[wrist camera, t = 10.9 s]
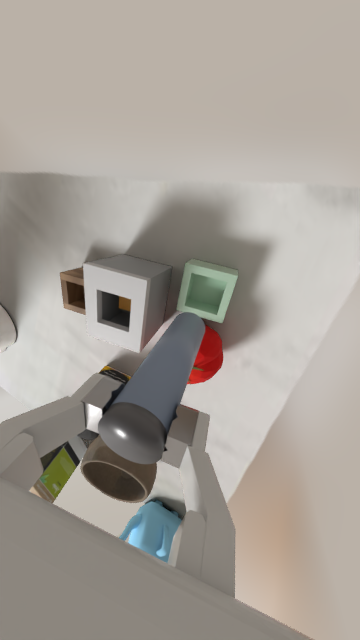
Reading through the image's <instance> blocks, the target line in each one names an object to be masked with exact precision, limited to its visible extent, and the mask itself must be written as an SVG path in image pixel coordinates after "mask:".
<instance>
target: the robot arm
mask: <svg viewBox="0 0 360 640" xmlns="http://www.w3.org/2000/svg"><path fill="white" fill-rule="evenodd" d="M15 340H16V331H15V327H14V324H13V322H12V320H11V318H10V317H9V315H8V314H7V312H6V311H5V310H4V308H3V307H2V306H1V305H0V353H2V352H4V351H5V350H6V347H8V346H11V345H13V344H14V342H15ZM123 388H124V383H121V382H119V381H116V380H114V379H112V378H109V377H107V376H104V375H102V374H99V373H95V374H93V375H92V376H91V377H90V378H89V379H88V380H87V381H86V382H85V383H84V384H83V385H82V386H81V387H80V388H79V389H78V390H77V391H76V392H75V393H74V394H73V395H72V396H71V397H68V396H67V397H64V398H62V399H59V400H56V401H54V402H51V403H49V404H46V405H44V406H41V407H39V408H36V409H33V410H31V411H28V412H26V413H23V414H21V415H18V416H16V417H13V418H11V419H8V420H5V421H3V422H2V423H1V424H0V640H314V639H312V638H310V637H308V636H306V635H304V634H302V633H300V632H299V631H297V630H295V629H293V628H290V627H288V626H287V625H285V624H283V623H281V622H279V621H277V620H275V619H274V618H272V617H270V616H268V615H266V614H264V613H262V612H260V611H258V610H256V609H254V608H252V607H250V606H248V605H247V604H245V603H243V602H241V601H239V600H237V599H235V527H234V524H233V521H232V518H231V516H230V513H229V510H228V507H227V505H226V502H225V499H224V496H223V493H222V491H221V488H220V485H219V482H218V480H217V477H216V474H215V471H214V469H213V466H212V463H211V460H210V457H209V455H208V453H206V452H205V446H206V440H207V433H208V426H209V420H210V416H209V415H208V414H205V413H203V412H200V411H198V410H195V409H193V408H190V407H187V406H184V405H181V404H178V407H177V410H176V413H175V416H174V420H173V421H172V424H171V427H170V430H169V433H168V436H167V440H166V443H165V448H164V451H163V455H162V459H161V460H162V461H164V462H166V463H168V464H170V465H172V466H174V467H177V468H179V473H180V479H181V484H182V490H183V495H184V501H185V506H186V514H185V516H184V518H183V520H182V521H181V523H180V525H179V527H178V529H177V531H176V533H175V535H174V537H173V541H172V545H171V550H170V554H169V559H168V563H166V562H164V561H162V560H160V559H158V558H156V557H154V556H152V555H150V554H149V553H147V552H145V551H143V550H141V549H139V548H137V547H135V546H133V545H131V544H129V543H127V542H125V541H124V540H122V539H120V538H118V537H116V536H114V535H112V534H110V533H108V532H106V531H104V530H102V529H100V528H98V527H97V526H94V525H92V524H90V523H89V522H87V521H85V520H83V519H81V518H79V517H77V516H75V515H73V514H72V513H70V512H68V511H66V510H64V509H62V508H60V507H58V506H56V505H54V504H52V503H50V502H48V501H47V500H45V499H43V498H41V497H39V496H37V495H35V494H33V493H31V492H29V490H30V489H31V488H32V486H33V485H34V484H35V483H36V481H37V480H38V479H39V478H40V476H41V475H42V474H43V466H42V463H41V460H40V458H41V457H43V456H44V455H46V454H48V453H49V452H51V451H52V450H54V449H56V448H57V447H59V446H60V445H62V444H64V443H65V442H67V441H68V440H70V439H72V438H73V437H75V436H76V435H78V434H80V433H81V432H83V431H84V430H86V429H88V430H91V431H94V432H96V433H99V432H98V423H99V421H100V419H101V418H102V417H103V415H104V414H105V412H106V411H107V410H108V408H109V407H110V406H111V404H112V403H113V402H114V400H115V399H116V398H117V396H118V395H119V394H120V392H121V391H122V390H123Z"/></svg>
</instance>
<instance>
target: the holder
mask: <svg viewBox="0 0 360 640" xmlns="http://www.w3.org/2000/svg"><path fill="white" fill-rule="evenodd" d="M60 279H61V287H62V296H63V304H64V308H65V309H68V310H72V311H75V312H78V313H81V314H84V315H86V309H85V291H84V273H83V268H77V269H73V270H69V271H65V272H60Z"/></svg>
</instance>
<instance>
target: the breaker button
mask: <svg viewBox="0 0 360 640" xmlns="http://www.w3.org/2000/svg"><path fill="white" fill-rule="evenodd" d="M119 308H120V309H123V310H127V311H130V312H131V299H128V298H125V297H121V296H119Z"/></svg>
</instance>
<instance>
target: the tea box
mask: <svg viewBox="0 0 360 640" xmlns="http://www.w3.org/2000/svg"><path fill="white" fill-rule="evenodd" d="M86 450H87V447H86V445H85V443H84V442H83V440H82V438H80V437H78V436H77V435H76V436H75V437H73V438H72V439H70V440H68V441H67V442H65V443H64V444H62V445H60V446H59V447H57V448H56V449H54V450H52V451H51V452H49V453H48V454H46V455H44V456H43V457H41V458H40V460H41V463H42V466H43V474H42V475H41V476H40V478H39V479H38V480H37V481H36V483H35V484H34V485H33V486H32V488H31V489H30V490H29V492H31V493H33V494H35V495H37V496H39V497H41V498H43V499H45V500H47V501H48V502H50V503H53V502H54V500H55V499H56V497H57V496H58V494H59V493H60V491H61V490H62V488H63V487H64V485H65V484H66V482H67V481H68V479H69V478H70V476H71V475H72V473H73V472H74V470H75V469H76V467H77V466H78V464H79V463H80V461H81V460H82V458H83V457H84V455H85V452H86Z"/></svg>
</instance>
